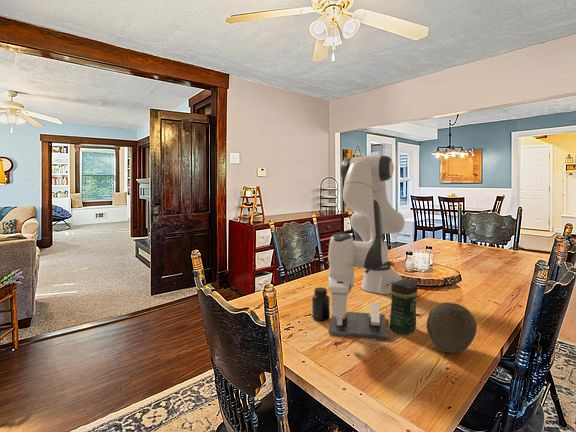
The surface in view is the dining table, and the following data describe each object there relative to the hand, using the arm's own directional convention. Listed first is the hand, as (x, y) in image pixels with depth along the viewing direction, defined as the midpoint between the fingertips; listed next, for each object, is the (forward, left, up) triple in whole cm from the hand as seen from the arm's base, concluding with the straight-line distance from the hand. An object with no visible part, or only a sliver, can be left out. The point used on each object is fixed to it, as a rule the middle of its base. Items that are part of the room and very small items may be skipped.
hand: (340, 319), depth 114 cm
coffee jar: (-24, +1, -6) cm, 25 cm away
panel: (-9, -6, -6) cm, 12 cm away
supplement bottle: (+2, -15, -6) cm, 17 cm away
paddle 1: (-4, -8, -2) cm, 9 cm away
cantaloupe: (-31, +16, -6) cm, 36 cm away
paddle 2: (-15, -3, -2) cm, 15 cm away
